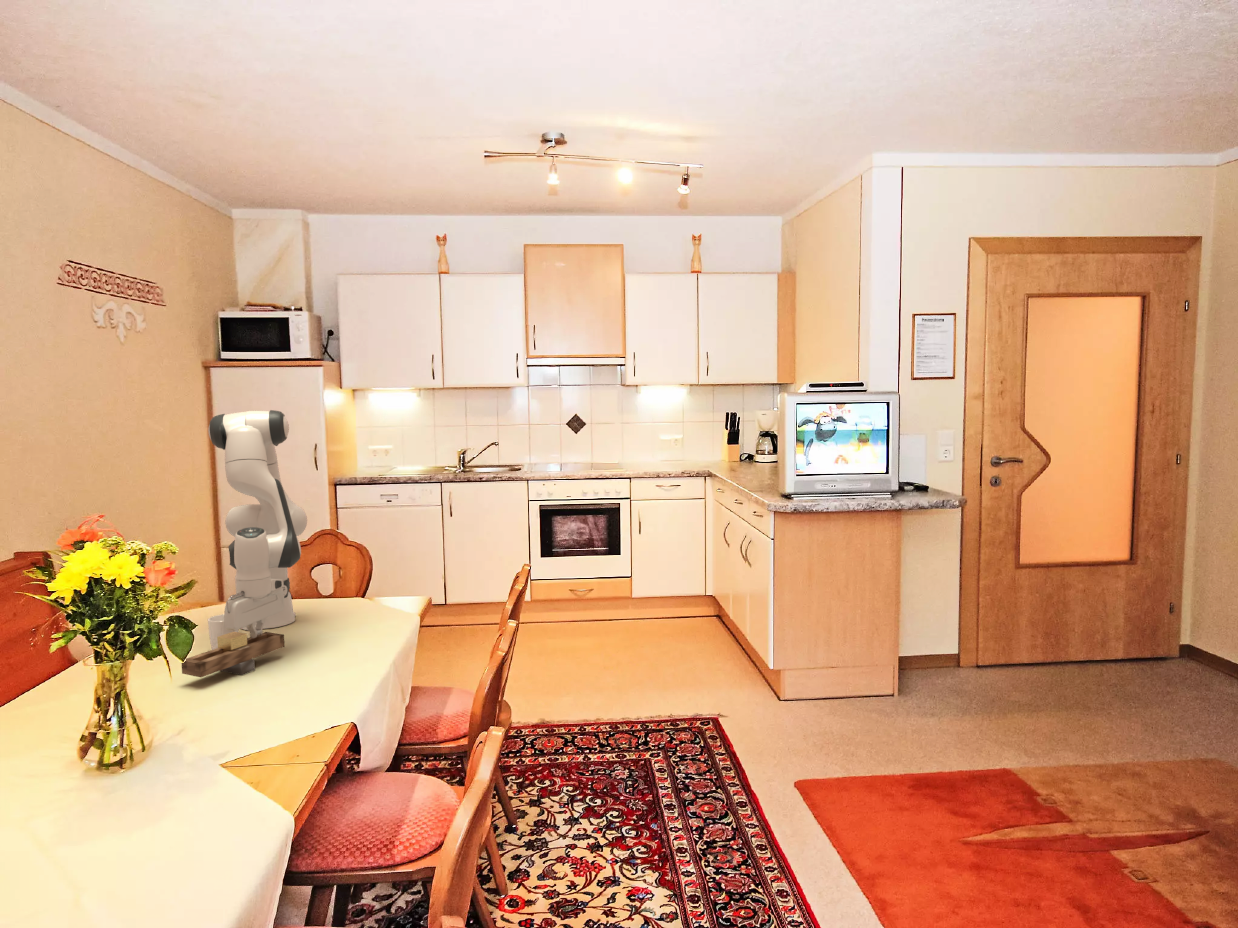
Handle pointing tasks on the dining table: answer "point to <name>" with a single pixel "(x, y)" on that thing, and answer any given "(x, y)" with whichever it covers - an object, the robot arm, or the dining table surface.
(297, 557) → the robot arm
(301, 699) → the dining table surface
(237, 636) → the rider
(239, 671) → the beam
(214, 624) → the white cup
